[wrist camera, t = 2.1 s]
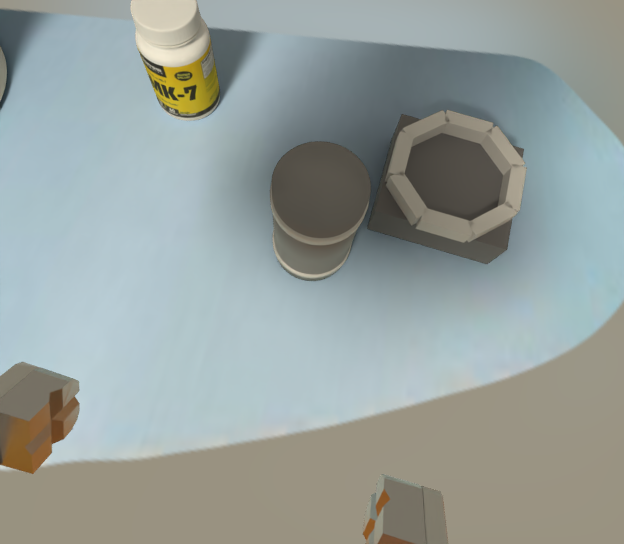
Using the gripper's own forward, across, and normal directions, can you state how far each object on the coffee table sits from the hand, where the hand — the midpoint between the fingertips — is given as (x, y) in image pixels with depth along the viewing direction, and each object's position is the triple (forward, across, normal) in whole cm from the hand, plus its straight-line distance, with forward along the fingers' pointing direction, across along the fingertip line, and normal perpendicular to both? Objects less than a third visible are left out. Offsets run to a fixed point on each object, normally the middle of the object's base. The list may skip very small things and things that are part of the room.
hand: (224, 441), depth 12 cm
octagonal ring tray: (+26, -7, -1) cm, 27 cm away
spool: (+21, +1, +3) cm, 21 cm away
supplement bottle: (+28, +13, -3) cm, 31 cm away
